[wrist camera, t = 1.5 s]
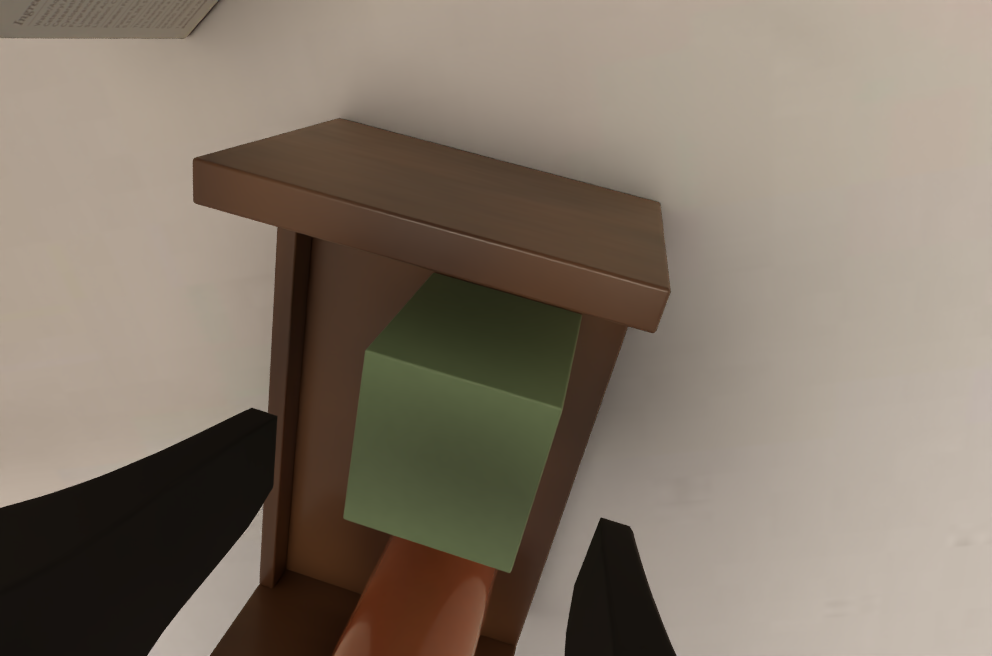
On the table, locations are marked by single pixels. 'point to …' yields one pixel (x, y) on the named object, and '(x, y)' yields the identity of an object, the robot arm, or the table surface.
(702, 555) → the table surface
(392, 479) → the green block
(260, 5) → the table surface
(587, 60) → the table surface
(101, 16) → the small box
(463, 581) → the terracotta cylinder
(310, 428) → the shelf
